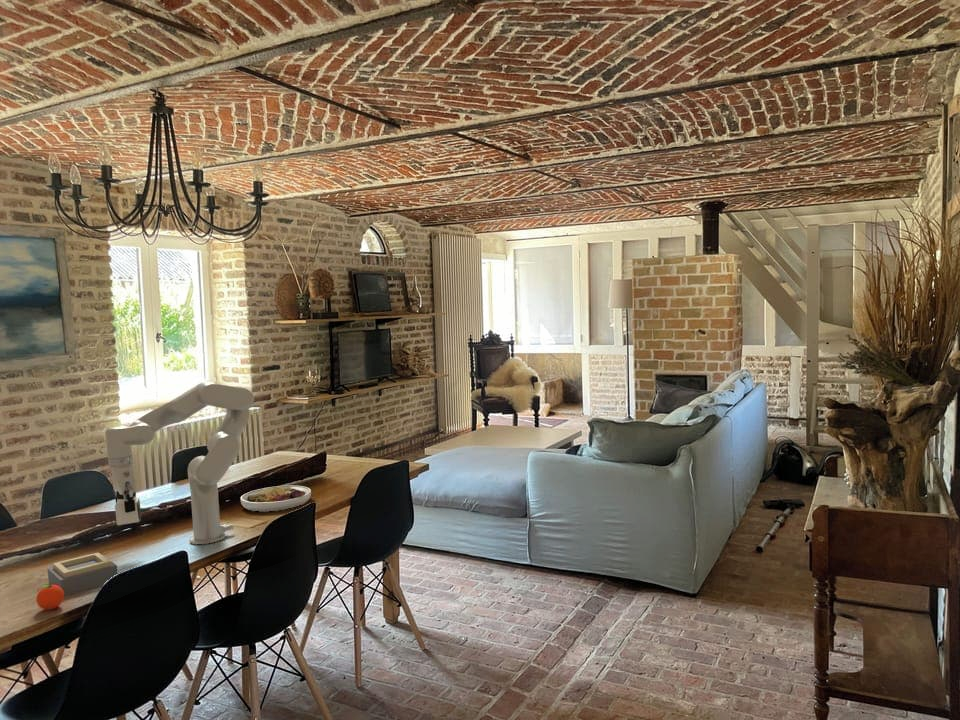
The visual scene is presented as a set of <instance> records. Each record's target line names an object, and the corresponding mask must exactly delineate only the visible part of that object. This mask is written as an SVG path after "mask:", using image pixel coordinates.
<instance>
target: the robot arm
mask: <svg viewBox="0 0 960 720" xmlns="http://www.w3.org/2000/svg"><path fill="white" fill-rule="evenodd" d="M254 396H255V395H254V394H253V392H252V391H251V390H250V389H248V388H244V387H241V386H232V385H227V384H226V385H225V384H220V383H215V382H211V381H203V382H200V383H198V384H197V385H195V386H193V387H191V388H190V389H188V390H186V391H185V392H183V393H181V394H180V395H179V396H177V397H175V398H174V399H172V400H170V401H168V402H166V403H164V404H163V405H161V406H159V407H157V408H155V409H153V410H151V411H149V412H147V413H146V414H144V415H142V416H141V417H139V418H138V419H136V420H135V421H133V422H132V423H130V425H129V426H126V425H116V426H111V427H107V428H106V429H105V432H104V434H105V442H106V443H105V445H106V453H107V461H108V469H109V468H110V469H111V480H112V482H111V483H112V488H113V492H114V497H115V499H114V500H115V504H116V503H117V494H116V491H118V492H119V494H120V495H123V496H124V499H125V501H124V506H125V512H126V513H128V512H132V511H135V501H134V494H133V493H135V492H136V493H137V486H136V481H135V476H134V474H135V473H134V469H133V466H132V465H133V463H134V461H133V453H132V452H133V451H132V446H144V445H147V444H150V443H152V441H153V440H154V439H155V436H156V432H158V431H160V430H161V429H163V428H165V427H167V426H170V425H173V424H177V423H180V422H184V421H186V420H187V419H190V417H192V416H193V415H195V414H197V413H198V412H199V411H202V410H203V409H205V408H207V407H209V406H210V407H215V408H219V409H226V413H225V416H224V418H223V420H222V421H221V422H220V424H219V426H218V427H217V428H216V430H215V431H214V432H213V434H212V435H211V436H210V438H209V439H208V441H207V445H206V448H207V451H208V452H207V454H206V455H199V456H196V457H194V458H193V459H192V460H191V461H190V462H189V463H188V466H187V478H188V483H189V490H190V503H191V514H192V515H191V516H192V519H191V520H192V530H193V531H192V533H193V536H191V537H190V538H189V543H190V544H191V543H192V545H197V544H202V545H210V544H213V543H214V542H215V543H218V542H220V541H219V540H221V541H223V540H224V539H225V538H226V533H225V532H227V531H233V530H234V525H233V524H223V525H222V524H221V517H220V515H221V514H220V504H219V501H220V500H219V489H218V483H219V481H220V480H222V479H223V476H225V474H226V473H227V471H228V470H229V468H230V467H231V466H232V464H233V463H234V461H235V460H236V458H237V457H238V455H239V454H240V453H239V452H240V448H241V447H240V446H241V445H240V441H239V438H240V437H241V435H242V434H243V432H244V430H245V429H246V427H247V425H248V423H249V419H250V408H251V407H252V406H253V405H254V401H255V397H254ZM126 491H128V492H126ZM126 495H127V496H126ZM222 539H223V540H222ZM217 541H218V542H217ZM209 543H210V544H209Z"/></svg>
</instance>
